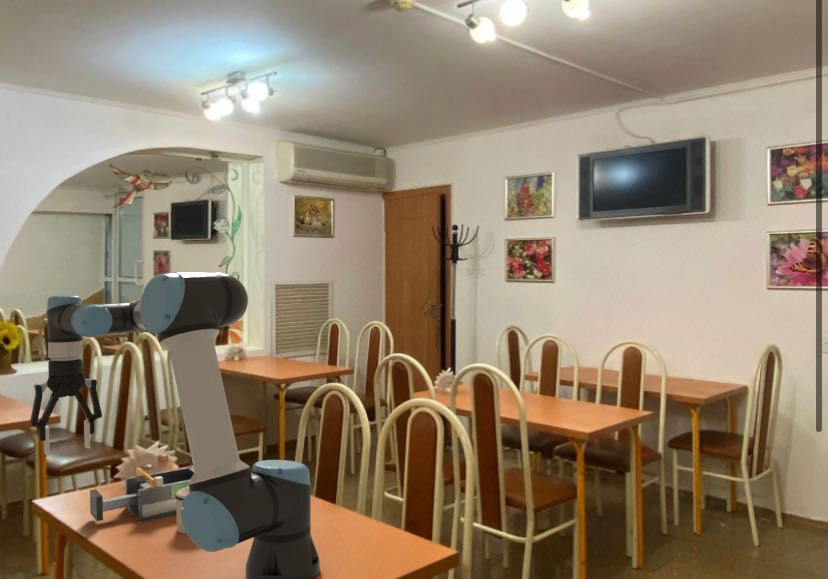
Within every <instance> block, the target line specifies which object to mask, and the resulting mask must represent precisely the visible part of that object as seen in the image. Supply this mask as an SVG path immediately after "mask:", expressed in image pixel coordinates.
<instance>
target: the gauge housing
mask: <svg viewBox="0 0 828 579" xmlns="http://www.w3.org/2000/svg"><path fill="white" fill-rule="evenodd" d="M194 472H195V471H194V467H193V465H191V466H184V467H180V468H179V467H178V468H175V469H173V468H172V469H168V470H162V471H157V472H151V473H147V474H148V475H150V476H151V477H152V478H154V477H158V476H161V477H163V486H159V487H156V486H155V487H149V488H143V489H139V484H141V483H146V482H145V481H144V480H143V479H142V478H140V477H139V476H138V475H136V476H135V475H134V476H130V477H125V478H124V495H128V494H133V493H138V505H134V506H129V507H125V509H126V508H127V509H128V510H129V511H130V512H131V513H132V514H133V515H134V516H135V517H136V518H137V519H138V520H139V521H140V522H141V523H145V522H144V521H146V522H150V521H154V520H153V519H155V520H159V519H163V518H162V517H164V518H168V517H173V516H177V506H176V497H175V495H176V493H177V491H179V490H180V489H183V488H185V487H186V486H188V485H189V484H188V483H189V481H190V480H191V478H192V476H193V475H194ZM127 509H126V510H127ZM128 510H127V511H128ZM129 511H128V512H129ZM130 512H129V513H130ZM131 513H130V514H131ZM132 514H131V515H132ZM133 515H132V516H133ZM172 515H173V516H172ZM134 516H133V517H134ZM135 517H134V518H135ZM136 518H135V519H136ZM158 518H159V519H158ZM137 519H136V520H137ZM149 520H150V521H149ZM139 521H138V522H139ZM140 522H139V523H140Z"/></svg>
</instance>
